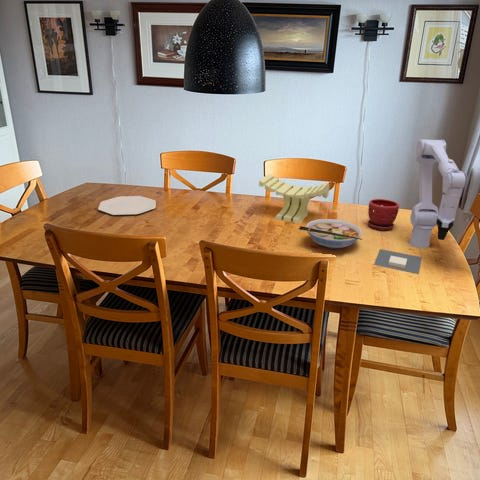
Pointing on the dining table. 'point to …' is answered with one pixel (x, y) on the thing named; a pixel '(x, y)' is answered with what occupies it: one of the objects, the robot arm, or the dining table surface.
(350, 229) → the ramen bowl
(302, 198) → the slatted curved stool
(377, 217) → the plant pot
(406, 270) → the mat
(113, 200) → the plate
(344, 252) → the dining table surface
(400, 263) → the tile
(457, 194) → the robot arm
